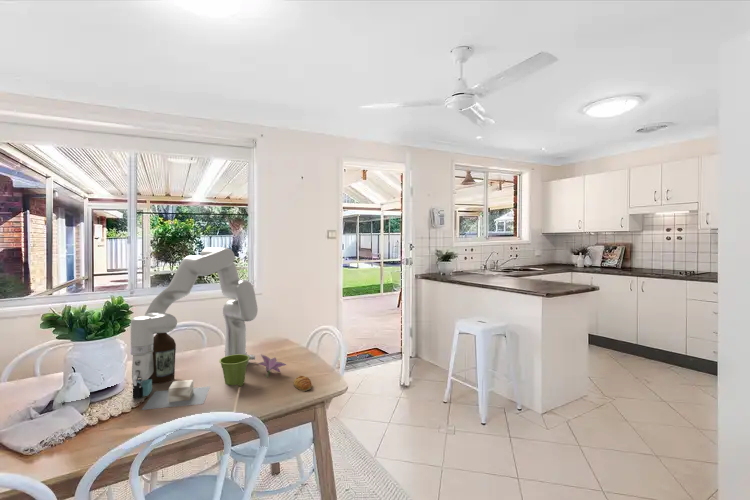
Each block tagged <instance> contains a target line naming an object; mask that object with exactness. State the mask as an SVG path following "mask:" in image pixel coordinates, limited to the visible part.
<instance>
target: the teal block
mask: <svg viewBox="0 0 750 500" xmlns="http://www.w3.org/2000/svg"><path fill="white" fill-rule="evenodd" d="M139 384H140V382H139ZM142 387H143V397H146V396H147V397H148V396H149V395H150V394H151V392H152V391H153V383H152V379H148V380H146V381H145V380H143V383H142Z"/></svg>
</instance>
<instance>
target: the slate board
mask: <svg viewBox="0 0 750 500" xmlns="http://www.w3.org/2000/svg"><path fill="white" fill-rule="evenodd" d="M210 388H211V386H200V387H193V394H192V396H191V398H190V400H184V401H174V402H169V389H168V390H167V389H166V390H155V391H154V392H153V393H152V395H151V396H150V397H149V399H148V400H147V401H146V403H145V404H144V405H143V407H142V409H141V411H143V410H144V411H145V410H153V409H154V410H155V409H156V410H157V409H165V408H174V407H175V408H177V407H185V406H187V407H188V406H196V405H197V406H198V405H204V403H205V401H206V398H207V396H208V393H209V392H210Z"/></svg>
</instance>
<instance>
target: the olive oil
mask: <svg viewBox="0 0 750 500" xmlns="http://www.w3.org/2000/svg"><path fill="white" fill-rule="evenodd" d="M176 349H177V345H176V341H175V339H174V338H173V337H172V336H171V335H169V334H168V332H167V333H157V334H154V351H153V352H152V353H153V366H154V372H153V374H152V375H151V379H152V384H156V385H157V384H164V383H168V382H171V381H172V380H175V374H176V373H175V372H176V371H175V370H176V368H175V367H176Z"/></svg>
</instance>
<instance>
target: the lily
mask: <svg viewBox="0 0 750 500" xmlns="http://www.w3.org/2000/svg"><path fill="white" fill-rule="evenodd" d="M260 355H261V358H262V360H263V361H262V362H258V363H257V365H260V366H263V367H265V369H266V372H267V378H266V379H268V378H269V373H270V372H271V371H272V370H273V371H276V372H277V373H279V372H280V373H281V370H280V367H284V366H287V364H286V363H283V362H281V361H277V357H272V358H270V357H268V356H266V355H264V354H260Z"/></svg>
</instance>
